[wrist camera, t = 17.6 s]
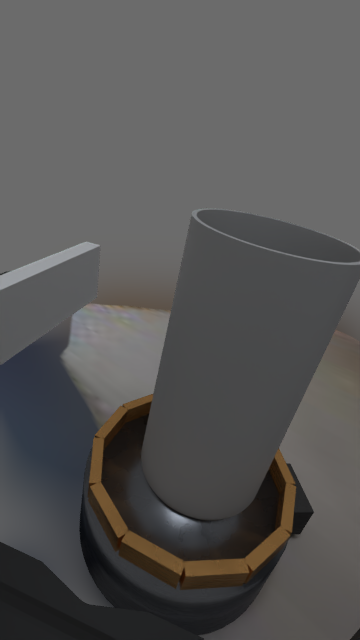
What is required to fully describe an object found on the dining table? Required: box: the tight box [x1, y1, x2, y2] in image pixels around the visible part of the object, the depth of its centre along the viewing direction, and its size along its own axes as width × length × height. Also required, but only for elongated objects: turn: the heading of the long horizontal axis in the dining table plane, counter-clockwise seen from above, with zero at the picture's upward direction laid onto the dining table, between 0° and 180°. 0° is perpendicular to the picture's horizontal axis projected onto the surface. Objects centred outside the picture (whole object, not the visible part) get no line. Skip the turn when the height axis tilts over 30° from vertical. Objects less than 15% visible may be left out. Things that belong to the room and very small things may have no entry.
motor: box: [80, 394, 314, 635], centre depth 36 cm, size 24×21×9 cm
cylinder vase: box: [141, 208, 360, 520], centre depth 30 cm, size 12×12×25 cm
